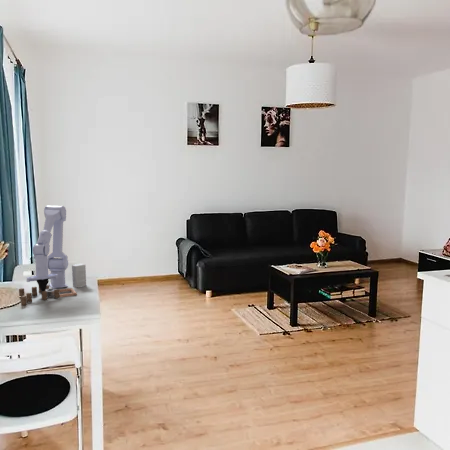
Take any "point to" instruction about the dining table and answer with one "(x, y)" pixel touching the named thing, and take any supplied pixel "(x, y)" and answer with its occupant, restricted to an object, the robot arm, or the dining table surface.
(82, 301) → the dining table surface
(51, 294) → the steel nut
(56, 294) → the walnut spacers
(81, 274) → the skincare box
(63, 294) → the parts bay
